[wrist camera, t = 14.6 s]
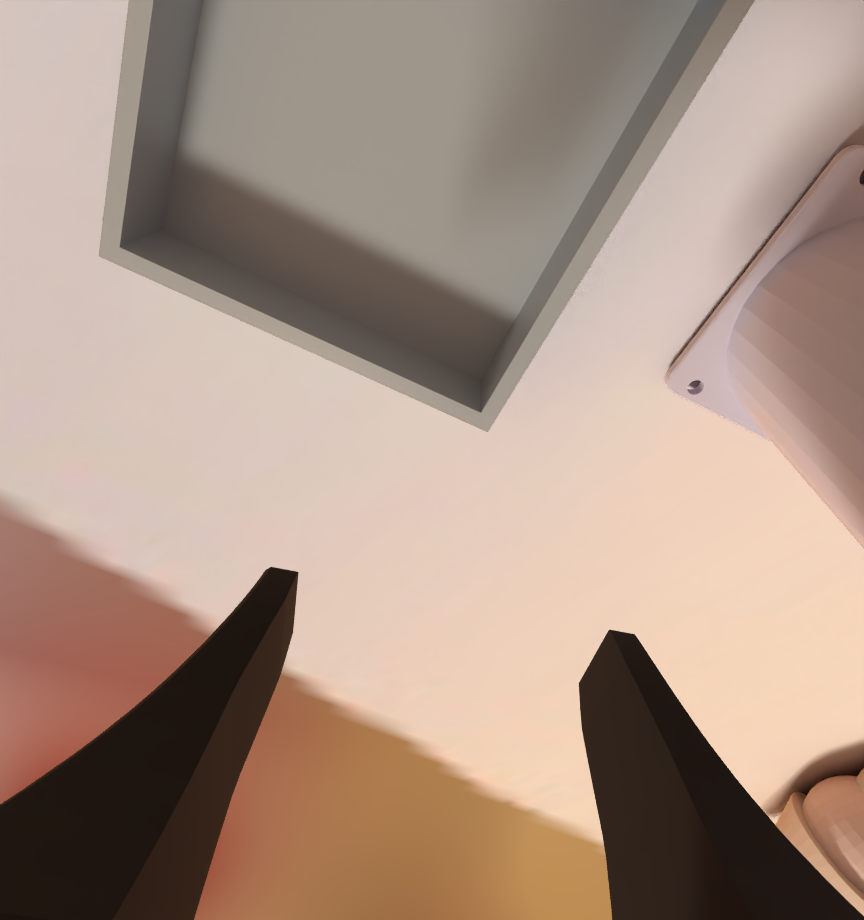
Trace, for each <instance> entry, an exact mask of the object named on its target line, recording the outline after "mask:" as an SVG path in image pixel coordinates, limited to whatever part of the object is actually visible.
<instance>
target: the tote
mask: <svg viewBox="0 0 864 920" xmlns="http://www.w3.org/2000/svg"><path fill="white" fill-rule="evenodd" d="M753 2H754V0H129V4H128V13H127V21H126V30H125V38H124V47H123V55H122V64H121V72H120V80H119V89H118V97H117V106H116V114H115V123H114V131H113V140H112V148H111V157H110V165H109V174H108V182H107V190H106V199H105V207H104V216H103V224H102V233H101V241H100V250H99V257H102V258H104V259H106V260H108V261H111V262H113V263H115V264H117V265H119V266H122V267H124V268H126V269H128V270H130V271H133V272H135V273H137V274H139V275H141V276H144V277H146V278H148V279H150V280H153V281H155V282H157V283H159V284H161V285H164V286H166V287H168V288H170V289H172V290H175V291H177V292H179V293H181V294H183V295H186V296H188V297H190V298H192V299H195V300H197V301H199V302H201V303H203V304H206V305H208V306H210V307H212V308H214V309H217V310H219V311H221V312H223V313H225V314H228V315H230V316H232V317H234V318H237V319H239V320H241V321H243V322H245V323H248V324H250V325H252V326H254V327H256V328H259V329H261V330H263V331H265V332H267V333H270V334H272V335H274V336H276V337H279V338H281V339H283V340H285V341H287V342H290V343H292V344H294V345H296V346H298V347H301V348H303V349H305V350H307V351H309V352H312V353H314V354H316V355H318V356H321V357H323V358H325V359H327V360H329V361H332V362H334V363H336V364H338V365H340V366H343V367H345V368H347V369H349V370H351V371H354V372H356V373H358V374H360V375H363V376H365V377H367V378H369V379H371V380H374V381H376V382H378V383H380V384H382V385H385V386H387V387H389V388H391V389H393V390H396V391H398V392H400V393H402V394H405V395H407V396H409V397H411V398H413V399H416V400H418V401H420V402H422V403H424V404H427V405H429V406H431V407H433V408H435V409H438V410H440V411H442V412H444V413H447V414H449V415H451V416H453V417H455V418H458V419H460V420H462V421H464V422H466V423H469V424H471V425H473V426H475V427H477V428H480V429H482V430H484V431H486V432H488V431H489V429H490V428H491V426H492V424H493V423H494V421H495V419H496V418H497V416H498V415H499V413H500V411H501V410H502V408H503V406H504V405H505V403H506V402H507V400H508V398H509V397H510V395H511V394H512V392H513V390H514V389H515V387H516V385H517V384H518V382H519V381H520V379H521V377H522V376H523V374H524V372H525V371H526V369H527V368H528V366H529V364H530V363H531V361H532V360H533V358H534V356H535V355H536V353H537V351H538V350H539V348H540V347H541V345H542V343H543V342H544V340H545V339H546V337H547V335H548V334H549V332H550V330H551V329H552V327H553V326H554V324H555V322H556V321H557V319H558V317H559V316H560V314H561V313H562V311H563V309H564V308H565V306H566V305H567V303H568V301H569V300H570V298H571V296H572V295H573V293H574V292H575V290H576V288H577V287H578V285H579V283H580V282H581V280H582V279H583V277H584V275H585V274H586V272H587V271H588V269H589V267H590V266H591V264H592V262H593V261H594V259H595V258H596V256H597V254H598V253H599V251H600V250H601V248H602V246H603V245H604V243H605V241H606V240H607V238H608V237H609V235H610V233H611V232H612V230H613V228H614V227H615V225H616V224H617V222H618V220H619V219H620V217H621V216H622V214H623V212H624V211H625V209H626V207H627V206H628V204H629V203H630V201H631V199H632V198H633V196H634V194H635V193H636V191H637V190H638V188H639V186H640V185H641V183H642V182H643V180H644V178H645V177H646V175H647V173H648V172H649V170H650V169H651V167H652V165H653V164H654V162H655V160H656V159H657V157H658V156H659V154H660V152H661V151H662V149H663V148H664V146H665V144H666V143H667V141H668V139H669V138H670V136H671V135H672V133H673V131H674V130H675V128H676V127H677V125H678V123H679V122H680V120H681V118H682V117H683V115H684V114H685V112H686V110H687V109H688V107H689V105H690V104H691V102H692V101H693V99H694V97H695V96H696V94H697V93H698V91H699V89H700V88H701V86H702V84H703V83H704V81H705V80H706V78H707V76H708V75H709V73H710V71H711V70H712V68H713V67H714V65H715V63H716V62H717V60H718V59H719V57H720V55H721V54H722V52H723V50H724V49H725V47H726V46H727V44H728V42H729V41H730V39H731V38H732V36H733V34H734V33H735V31H736V29H737V28H738V26H739V25H740V23H741V21H742V20H743V18H744V16H745V15H746V13H747V12H748V10H749V8H750V7H751V5H752V4H753Z"/></svg>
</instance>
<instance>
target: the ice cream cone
mask: <svg viewBox="0 0 864 920" xmlns="http://www.w3.org/2000/svg"><path fill="white" fill-rule="evenodd" d="M776 826H777V828H778V829H779V830H780V831H781V832H782V833H783V834H784V835H785V836H786V838H787V839H788V840H789V841H790V842H791V843H792V844H793V845H794V846H795V847H796V848H797V849H798V850H799V852H800V853H801V854H802V855H803V856H804V857H805V858H806V859H807V860H808V861H809V862H810V863H811V864H812V865H813V866H814V867H815V868H816V869H817V870H818V871H819V872H820V874H821V875H822V876H823V877H824V878H825V879H826V880H827V881H828V882H829V883H830V884H831V885H832V886H833V887H834V888H835V889H836V890H837V891H838V892H839V893H840V894H841V895H842V896H843V897H844V898H845V899H846V900H847V901H848V902H849V903H850V904H851V905H853V906H854V907H855V908H856V909H857V910H858V911H859V912H860V913H861V914H862V915H863V916H864V768H863V769H862V770H861V772H860V773H859V775H858V776H835V777H830V778H827V779H825V780H823V781H821V782H819V783H817V784H816V785H815V786H814V787H813V788H812V789H811V790H810V791H809V793H808V795H805V794H803V793H800V792H793V794H792V795H791V797H790V799H789V801H788V803H787V804H786V806H785V808H784V810H783V812H782V814H781V816H780V818H779V819H778V821H777V823H776Z"/></svg>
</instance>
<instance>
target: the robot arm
mask: <svg viewBox="0 0 864 920" xmlns="http://www.w3.org/2000/svg"><path fill="white" fill-rule="evenodd" d="M863 170H864V145H851V146H848V147H846V148H844V149H842V150H841V151H840V152H839V153H838V154H837V155H836V156H835V157H834V158H833V159H832V161H831V162H830V163H829V165H828V166H827V167H826V168H825V170H824V171H823V172H822V173H821V175H820V176H819V177H818V179H817V180H816V181H815V182H814V184H813V185H812V186H811V188H810V189H809V190H808V191H807V193H806V194H805V195H804V197H803V198H802V199H801V200H800V202H799V203H798V204H797V206H796V207H795V208H794V209H793V211H792V212H791V213H790V215H789V216H788V217H787V218H786V220H785V221H784V222H783V224H782V225H781V226H780V227H779V229H778V230H777V231H776V233H775V234H774V235H773V236H772V238H771V239H770V240H769V241H768V243H767V244H766V245H765V247H764V248H763V249H762V250H761V252H760V253H759V254H758V256H757V257H756V258H755V259H754V261H753V262H752V263H751V265H750V266H749V267H748V268H747V270H746V271H745V272H744V274H743V275H742V276H741V277H740V279H739V280H738V281H737V283H736V284H735V285H734V286H733V288H732V289H731V290H730V292H729V293H728V294H727V295H726V297H725V298H724V299H723V301H722V302H721V303H720V304H719V306H718V307H717V308H716V310H715V311H714V312H713V313H712V315H711V316H710V317H709V318H708V320H707V321H706V322H705V324H704V325H703V326H702V327H701V329H700V330H699V331H698V333H697V334H696V335H695V336H694V338H693V339H692V340H691V342H690V343H689V344H688V345H687V347H686V348H685V349H684V351H683V352H682V353H681V354H680V356H679V357H678V358H677V360H676V361H675V362H674V363H673V365H672V366H671V367H670V369H669V370H668V371H667V373H666V375H665V383H666V385H667V387H668V389H669V390H670V391H672V392H673V393H675V394H677V395H679V396H681V397H683V398H685V399H687V400H689V401H691V402H693V403H695V404H697V405H699V406H701V407H703V408H705V409H707V410H709V411H711V412H713V413H715V414H717V415H719V416H721V417H723V418H725V419H727V420H729V421H731V422H733V423H735V424H737V425H739V426H741V427H743V428H745V429H747V430H749V431H751V432H753V433H755V434H757V435H759V436H761V437H763V438H765V439H767V440H769V441H771V442H772V443H773V444H774V445H775V446H776V447H777V448H778V450H779V451H780V452H781V453H782V454H783V455H784V457H785V458H786V459H787V460H788V461H789V462H790V463H791V465H792V466H793V467H794V468H795V469H796V470H797V472H798V473H799V474H800V475H801V476H802V477H803V479H804V480H805V481H806V482H807V483H808V484H809V486H810V487H811V488H812V489H813V490H814V491H815V493H816V494H817V495H818V496H819V497H820V498H821V499H822V501H823V502H824V503H825V504H826V505H827V506H828V508H829V509H830V510H831V511H832V512H833V513H834V515H835V516H836V517H837V518H838V519H839V520H840V522H841V523H842V524H843V525H844V526H845V527H846V529H847V530H848V531H849V532H850V533H851V534H852V535H853V537H854V538H855V539H856V540H857V541H858V542H859V544H860V545H861V546H862V547H863V548H864V184H860V182H859V181H860V175H861V173H862V172H863ZM696 380H699V381H700V383H699V385H698V386H697V387H696V388H695V389H691V390H690V389H687V387H688V385H689V384H690V383H691V382H692V381H696ZM297 582H298V572H296V571H290V570H285V569H279V568H274V567H270V568H268V569H267V570H265V572H264V573H263V575H262V576H261V577H260V579H259V580H258V581H257V583H256V584H255V585H254V587H253V588H252V589H251V590H250V592H249V593H248V594H247V595H246V597H245V598H244V599H243V600H242V601H241V602H240V604H239V605H238V606H237V607H236V608H235V609H234V611H233V612H232V613H231V614H230V615H229V616H228V617H227V618H226V620H225V621H224V622H223V623H222V624H221V625H220V626H219V627H218V628H217V629H216V630H215V631H214V633H213V634H212V635H211V636H210V637H209V638H208V639H207V640H206V641H205V642H204V643H203V644H202V645H201V646H200V647H199V648H198V649H197V650H196V651H195V652H194V653H193V654H192V655H191V656H190V657H189V658H188V659H187V660H186V661H185V662H184V663H183V664H182V665H181V666H180V667H179V668H178V669H177V670H176V671H175V672H174V673H172V674H171V675H170V676H169V677H168V678H167V679H166V680H165V681H164V682H163V683H162V684H160V685H159V686H158V687H157V688H156V689H155V690H154V691H153V692H151V694H149V695H148V696H147V697H146V698H145V699H143V700H142V701H141V702H140V703H139V704H137V705H136V706H135V707H134V708H133V709H131V710H130V711H129V712H128V713H127V714H125V715H124V716H123V717H122V718H120V719H119V720H118V721H117V722H115V723H114V724H113V725H111V726H110V727H109V728H108V729H106V730H105V731H104V732H103V733H101V734H100V735H99V736H98V737H96V738H95V739H94V740H92V741H91V742H90V743H88V744H87V745H86V746H84V747H83V748H82V749H80V750H79V751H78V752H76V753H75V754H74V755H72V756H71V757H69V758H68V759H66V760H65V761H64V762H62V763H61V764H60V765H58V766H56V767H55V768H53V769H52V770H51V771H49V772H48V773H46V774H45V775H44V776H42V777H41V778H39V779H38V780H36V781H35V782H33V783H32V784H30V785H29V786H28V787H26V788H25V789H23V790H22V791H20V792H19V793H17V794H16V795H14V796H13V797H11V798H10V799H8V800H7V801H5V802H3V803H2V804H0V920H194V917H195V914H196V911H197V907H198V904H199V900H200V897H201V894H202V891H203V887H204V884H205V881H206V878H207V874H208V871H209V868H210V864H211V861H212V858H213V855H214V851H215V848H216V845H217V842H218V838H219V835H220V832H221V829H222V826H223V823H224V820H225V816H226V813H227V810H228V807H229V803H230V801H231V797H232V794H233V792H234V789H235V786H236V784H237V781H238V778H239V776H240V773H241V771H242V768H243V766H244V763H245V761H246V758H247V756H248V753H249V751H250V749H251V746H252V744H253V741H254V739H255V736H256V734H257V732H258V729H259V727H260V724H261V722H262V719H263V717H264V714H265V712H266V710H267V707H268V705H269V702H270V700H271V697H272V695H273V692H274V690H275V687H276V685H277V682H278V680H279V677H280V675H281V671H282V668H283V665H284V661H285V658H286V654H287V651H288V648H289V644H290V641H291V637H292V634H293V626H294V615H295V604H296V593H297ZM579 694H580V710H581V722H582V731H583V737H584V742H585V747H586V753H587V758H588V763H589V768H590V773H591V779H592V784H593V789H594V794H595V799H596V804H597V809H598V814H599V819H600V824H601V829H602V834H603V841H604V847H605V853H606V860H607V870H608V880H609V889H610V899H611V908H612V920H864V916H863V915H862V914H861V913H860V912H859V911H858V910H857V909H856V908H855V907H854V906H853V905H851V904H850V903H849V902H848V901H847V900H846V899H845V898H844V897H843V896H842V895H841V894H840V893H839V892H838V891H837V890H836V889H835V888H834V887H833V886H832V885H831V884H830V883H829V882H828V881H827V880H826V879H825V878H824V877H823V876H822V875H821V874H820V872H819V871H818V870H817V869H816V868H815V867H814V866H813V865H812V864H811V863H810V862H809V861H808V860H807V859H806V858H805V857H804V856H803V855H802V854H801V853H800V852H799V850H798V849H797V848H796V847H795V846H794V845H793V844H792V843H791V842H790V841H789V840H788V839H787V838H786V836H785V835H784V834H783V833H782V832H781V831H780V830H779V829H778V828H777V826H776V825H775V824H774V823H773V822H772V821H771V820H770V818H769V817H768V816H767V815H766V814H765V813H764V811H763V810H762V809H761V808H760V807H759V806H758V804H757V803H756V802H755V801H754V800H753V799H752V797H751V796H750V795H749V794H748V793H747V791H746V790H745V789H744V788H743V787H742V785H741V784H740V783H739V782H738V780H737V779H736V778H735V777H734V775H733V774H732V773H731V771H730V770H729V769H728V768H727V766H726V765H725V764H724V762H723V761H722V760H721V758H720V757H719V756H718V755H717V753H716V752H715V751H714V749H713V748H712V747H711V745H710V744H709V743H708V741H707V740H706V738H705V737H704V736H703V734H702V733H701V732H700V730H699V729H698V727H697V726H696V725H695V723H694V722H693V720H692V719H691V718H690V716H689V715H688V713H687V712H686V710H685V709H684V707H683V706H682V705H681V703H680V702H679V700H678V699H677V697H676V696H675V694H674V693H673V691H672V690H671V688H670V687H669V685H668V684H667V682H666V681H665V679H664V678H663V676H662V675H661V673H660V672H659V670H658V669H657V667H656V666H655V664H654V663H653V661H652V660H651V658H650V657H649V655H648V653H647V652H646V650H645V649H644V647H643V646H642V644H641V643H640V641H639V640H638V639H637V637H636V636H635V634H630V633H625V632H619V631H614V630H609V631H608V633H607V634H606V636H605V638H604V640H603V642H602V643H601V645H600V647H599V649H598V650H597V652H596V654H595V656H594V658H593V659H592V661H591V663H590V665H589V666H588V668H587V670H586V672H585V674H584V675H583V677H582V679H581V681H580V682H579Z"/></svg>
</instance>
